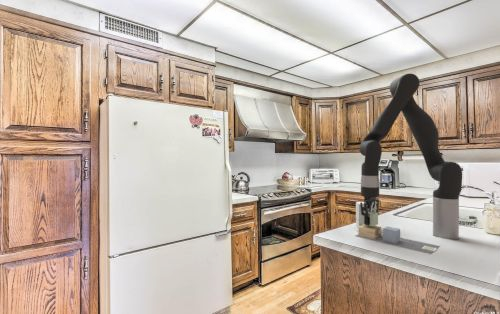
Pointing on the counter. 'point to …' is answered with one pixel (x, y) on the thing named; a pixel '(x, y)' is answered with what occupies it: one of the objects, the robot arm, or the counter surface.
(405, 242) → the mat
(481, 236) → the counter surface
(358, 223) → the supplement box
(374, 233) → the maple base
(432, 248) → the card
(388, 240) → the blue block
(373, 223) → the sage block
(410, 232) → the counter surface
